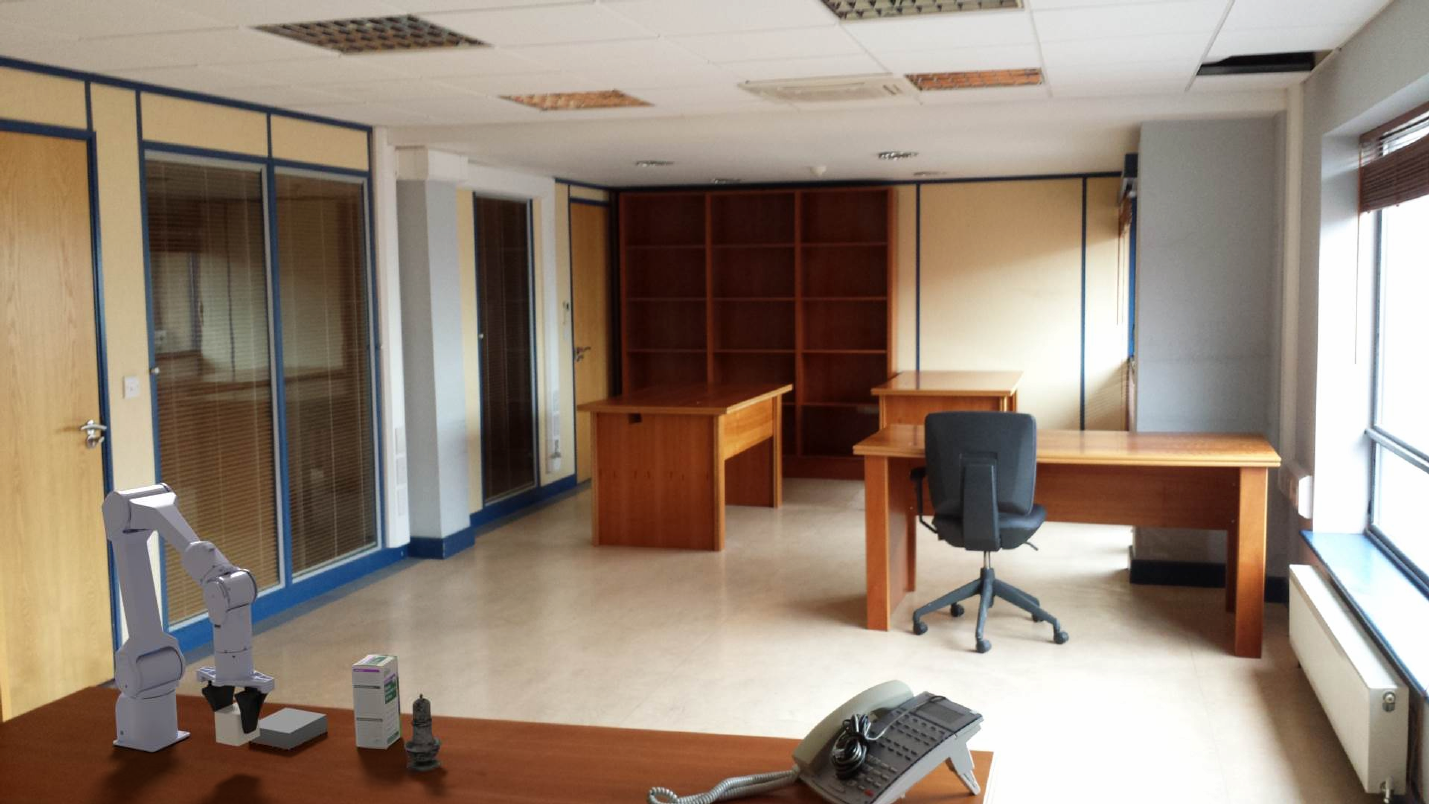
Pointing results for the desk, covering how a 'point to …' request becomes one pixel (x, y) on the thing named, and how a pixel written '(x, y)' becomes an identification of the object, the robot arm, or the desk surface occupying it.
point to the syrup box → (376, 701)
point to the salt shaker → (422, 739)
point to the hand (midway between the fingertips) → (237, 729)
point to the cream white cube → (232, 727)
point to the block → (290, 727)
